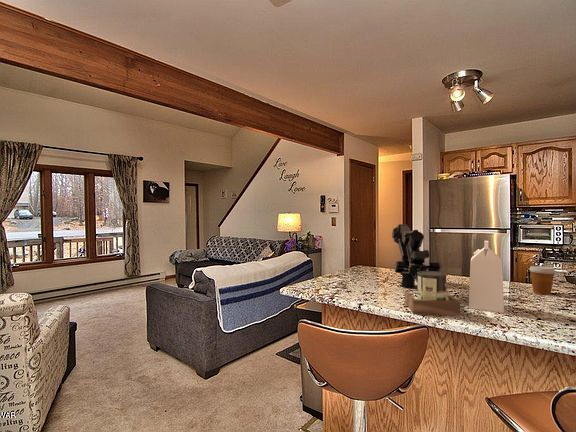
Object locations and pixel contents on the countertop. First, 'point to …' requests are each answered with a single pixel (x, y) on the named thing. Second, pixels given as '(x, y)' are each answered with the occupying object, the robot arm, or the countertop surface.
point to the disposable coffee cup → (542, 279)
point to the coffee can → (431, 285)
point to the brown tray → (433, 305)
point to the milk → (486, 281)
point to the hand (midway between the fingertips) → (420, 283)
